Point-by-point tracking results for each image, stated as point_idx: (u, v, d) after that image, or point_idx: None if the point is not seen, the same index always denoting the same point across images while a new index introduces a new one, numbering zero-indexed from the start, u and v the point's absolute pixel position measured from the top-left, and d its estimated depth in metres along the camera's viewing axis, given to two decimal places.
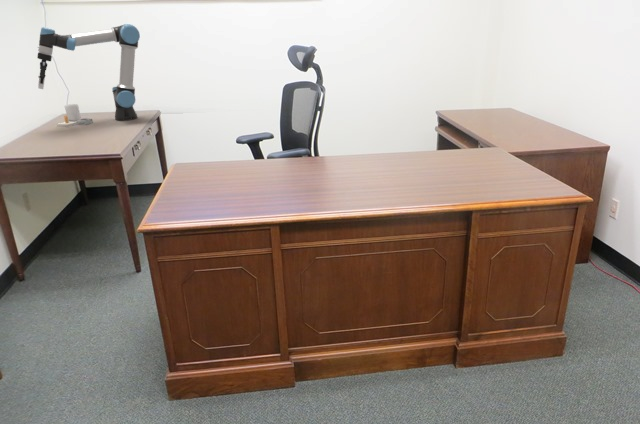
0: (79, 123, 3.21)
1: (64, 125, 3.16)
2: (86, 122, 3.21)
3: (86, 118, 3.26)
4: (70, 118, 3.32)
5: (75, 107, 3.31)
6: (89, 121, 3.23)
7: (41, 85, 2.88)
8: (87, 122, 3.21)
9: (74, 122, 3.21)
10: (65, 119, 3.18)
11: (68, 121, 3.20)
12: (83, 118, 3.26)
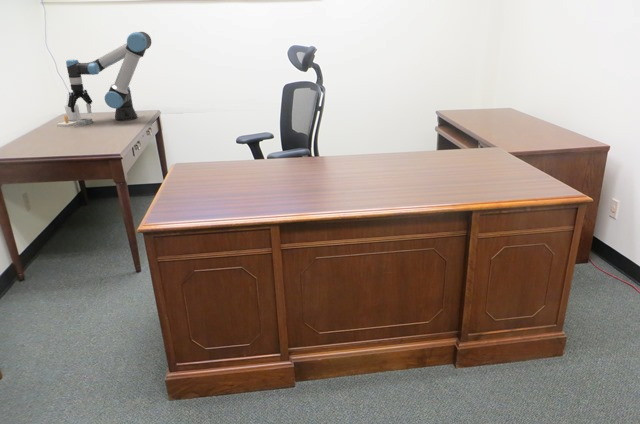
0: (79, 123, 3.21)
1: (64, 125, 3.16)
2: (86, 122, 3.21)
3: (86, 118, 3.26)
4: (70, 118, 3.32)
5: (75, 107, 3.31)
6: (89, 121, 3.23)
7: (74, 114, 3.15)
8: (87, 122, 3.21)
9: (74, 122, 3.21)
10: (65, 119, 3.18)
11: (68, 121, 3.20)
12: (83, 118, 3.26)
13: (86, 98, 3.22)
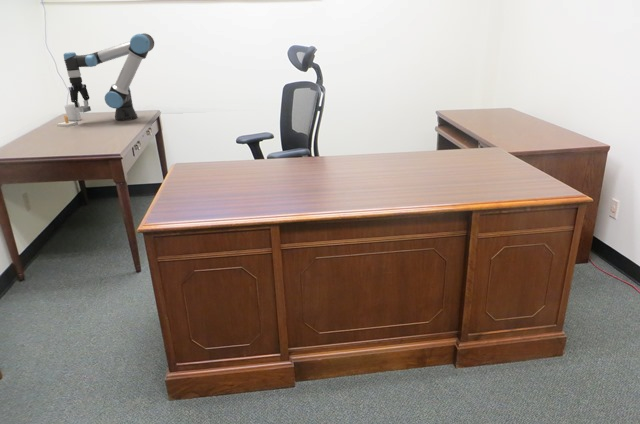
0: None
1: (64, 125, 3.16)
2: (84, 110, 3.17)
3: (84, 106, 3.22)
4: (70, 118, 3.32)
5: (75, 107, 3.31)
6: (87, 109, 3.20)
7: (78, 109, 3.16)
8: (85, 110, 3.18)
9: (74, 122, 3.21)
10: (65, 119, 3.18)
11: (68, 121, 3.20)
12: (81, 106, 3.23)
13: (84, 93, 3.19)
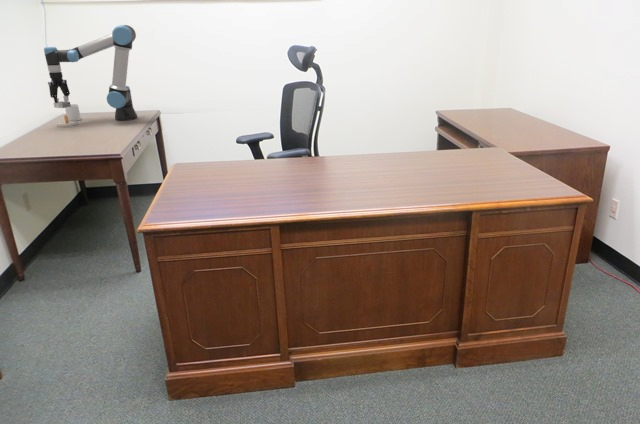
0: None
1: (64, 125, 3.16)
2: (63, 105, 3.12)
3: None
4: (70, 118, 3.32)
5: (75, 107, 3.31)
6: (67, 104, 3.15)
7: (57, 104, 3.11)
8: (64, 105, 3.13)
9: (74, 122, 3.21)
10: (65, 119, 3.18)
11: (68, 121, 3.20)
12: (61, 101, 3.18)
13: (64, 89, 3.14)
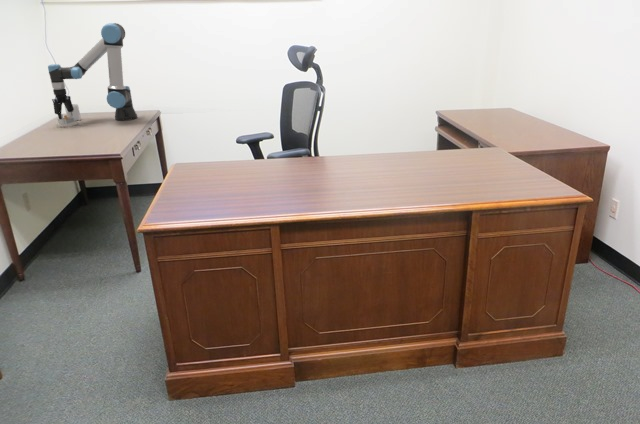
0: None
1: (64, 125, 3.16)
2: (67, 121, 3.17)
3: (68, 117, 3.22)
4: None
5: (75, 107, 3.31)
6: (71, 120, 3.19)
7: (61, 120, 3.15)
8: (68, 121, 3.18)
9: (74, 122, 3.21)
10: None
11: None
12: None
13: (68, 105, 3.18)
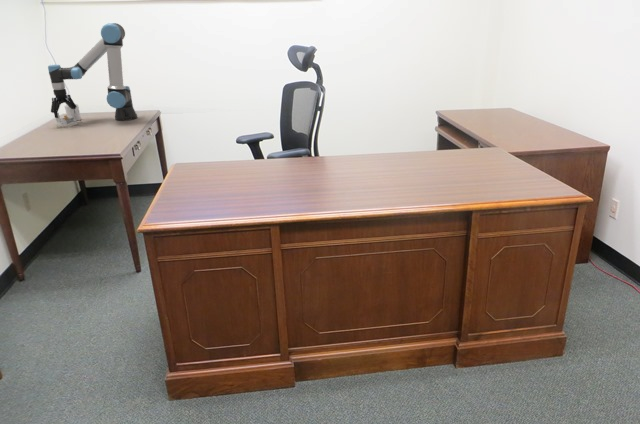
0: None
1: (64, 125, 3.16)
2: (67, 121, 3.17)
3: None
4: None
5: (75, 107, 3.31)
6: (71, 120, 3.19)
7: (57, 119, 3.12)
8: (68, 121, 3.18)
9: (74, 122, 3.21)
10: None
11: None
12: None
13: (70, 103, 3.20)
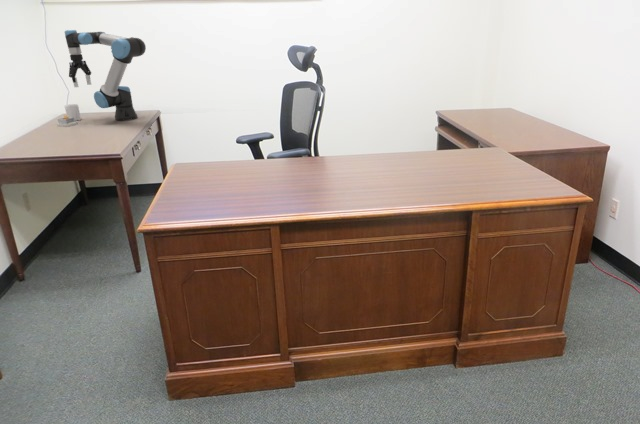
0: (60, 122, 3.17)
1: (64, 125, 3.16)
2: (67, 121, 3.17)
3: None
4: None
5: (75, 107, 3.31)
6: (71, 120, 3.19)
7: (75, 84, 3.19)
8: (68, 121, 3.18)
9: (74, 122, 3.21)
10: None
11: None
12: None
13: (85, 69, 3.26)
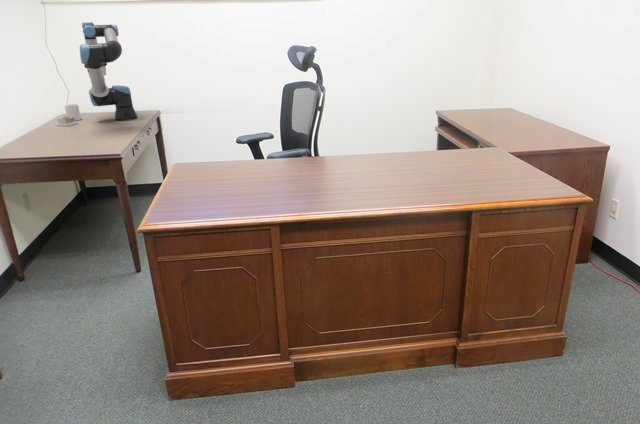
0: (60, 122, 3.17)
1: (64, 125, 3.16)
2: (67, 121, 3.17)
3: None
4: None
5: (75, 107, 3.31)
6: (71, 120, 3.19)
7: None
8: (68, 121, 3.18)
9: (74, 122, 3.21)
10: None
11: None
12: None
13: None
